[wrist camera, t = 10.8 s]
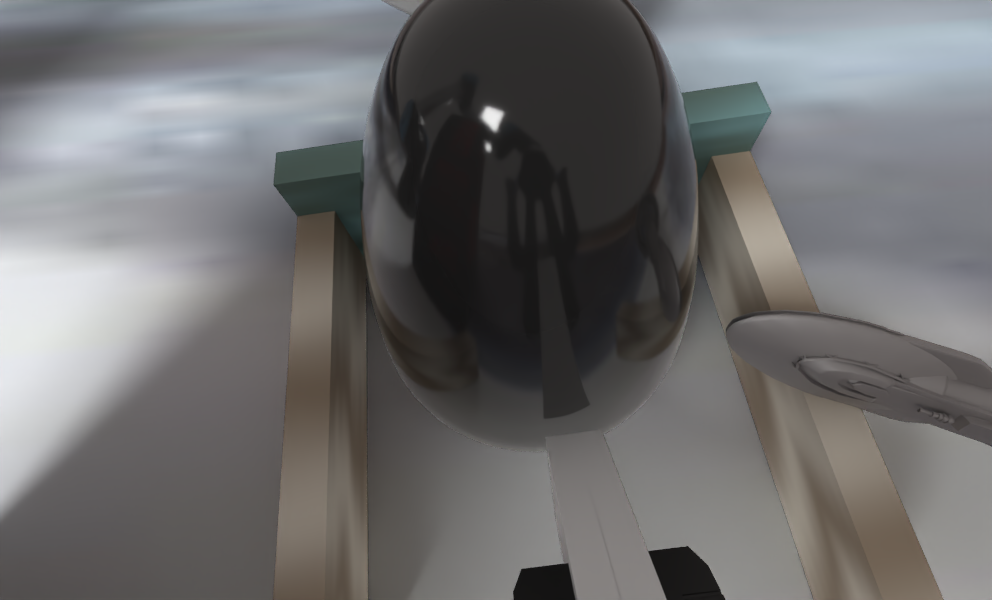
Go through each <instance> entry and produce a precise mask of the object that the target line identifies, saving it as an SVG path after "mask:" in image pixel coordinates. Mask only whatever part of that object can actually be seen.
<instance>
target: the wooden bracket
mask: <svg viewBox="0 0 992 600" xmlns="http://www.w3.org/2000/svg"><path fill="white" fill-rule="evenodd" d="M681 94H682V97H683V100H684V103H685V107H686V110H687V115H688V119H689V123H690V127H691V132H692V138H693V143H694V149H695V156H696V164H697V174H698V193H699V240H698V256H699V259H700V262H701V265H702V268H703V271H704V274H705V277H706V280H707V283H708V286H709V289H710V292H711V295H712V298H713V301H714V303H715V306H716V309H717V312H718V315H719V318H720V321H721V324H722V327H723V330H724V333H725V336H726V327H727V326H728V324H729V323H730V322H731V321H732V319H734V318H736V317H739V316H741V315H744V314H748V313H751V312H758V311H771V310H795V311H808V312H818V313H820V312H819V310H818V307H817V305H816V303H815V300H814V298H813V296H812V293H811V291H810V289H809V287H808V284H807V282H806V280H805V277H804V275H803V273H802V270H801V268H800V266H799V263H798V261H797V259H796V256H795V254H794V252H793V249H792V247H791V245H790V242H789V240H788V238H787V236H786V233H785V231H784V229H783V226H782V224H781V222H780V219H779V217H778V215H777V212H776V210H775V208H774V205H773V203H772V201H771V198H770V196H769V194H768V191H767V189H766V187H765V185H764V182H763V180H762V178H761V175H760V173H759V171H758V168H757V166H756V164H755V161H754V159H753V157H752V154H751V152H750V150H751V148H752V146H753V145H754V143H755V141H756V139H757V137H758V135H759V134H760V132H761V130H762V128H763V126H764V125H765V123H766V121H767V119H768V117H769V115H770V114H771V110H770V108H769V106H768V104H767V102H766V100H765V98H764V95H763V93H762V91H761V89H760V87H759V85H758V83H757V82H753V83H747V84H740V85H733V86H726V87H720V88H713V89H706V90H699V91H692V92H686V93H681ZM362 147H363V140H360V141H353V142H346V143H339V144H332V145H326V146H319V147H312V148H305V149H298V150H292V151H285V152H278V153H276V163H275V174H274V186H275V187H276V189H277V190H278V191H279V193H280V194H281V195H282V196H283V198H284V199H285V200H286V202H287V203H288V204H289V206H290V207H291V208H292V210H293V211H294V212H295V214H296V215H297V216H298V217H297V233H296V248H295V264H294V279H293V295H292V310H291V326H290V342H289V357H288V373H287V388H286V404H285V419H284V435H283V451H282V466H281V482H280V497H279V513H278V529H277V544H276V560H275V575H274V591H273V600H368V505H367V342H366V270H365V262H364V253H363V243H362V232H361V217H360V168H361V156H362ZM726 339H727V338H726ZM727 342H728V341H727ZM728 345H729V344H728ZM729 348H730V351H731V354H732V357H733V360H734V363H735V366H736V369H737V372H738V375H739V378H740V381H741V384H742V387H743V390H744V393H745V396H746V399H747V402H748V405H749V408H750V411H751V414H752V417H753V420H754V423H755V426H756V429H757V432H758V435H759V438H760V441H761V444H762V447H763V450H764V452H765V455H766V458H767V461H768V464H769V467H770V470H771V473H772V476H773V479H774V482H775V485H776V488H777V491H778V494H779V497H780V500H781V503H782V506H783V509H784V512H785V515H786V518H787V521H788V524H789V527H790V530H791V533H792V536H793V539H794V542H795V545H796V548H797V551H798V554H799V557H800V560H801V563H802V566H803V569H804V572H805V575H806V578H807V581H808V584H809V587H810V590H811V593H812V596H813V599H814V600H944V599H943V597H942V595H941V592H940V590H939V588H938V586H937V583H936V581H935V579H934V576H933V574H932V572H931V569H930V567H929V565H928V562H927V560H926V558H925V555H924V553H923V551H922V548H921V546H920V544H919V541H918V539H917V537H916V535H915V532H914V530H913V528H912V525H911V523H910V521H909V518H908V516H907V514H906V511H905V509H904V507H903V504H902V502H901V500H900V497H899V495H898V493H897V490H896V488H895V486H894V484H893V481H892V479H891V477H890V474H889V472H888V470H887V467H886V465H885V463H884V460H883V458H882V456H881V453H880V451H879V449H878V446H877V444H876V442H875V440H874V437H873V435H872V433H871V430H870V428H869V426H868V423H867V421H866V419H865V416H864V414H863V412H862V409H860V408H857V407H854V406H850V405H847V404H844V403H841V402H836V401H833V400H830V399H826V398H821V397H818V396H815V395H812V394H809V393H806V392H803V391H801V390H799V389H796V388H794V387H791V386H789V385H787V384H784V383H782V382H780V381H778V380H776V379H773V378H772V377H770V376H768V375H766V374H765V373H763V372H761V371H759V370H758V369H756V368H755V367H753V366H752V365H750V364H748V363H747V362H745V361H744V360H743V359H742V358H741V357H740V356H738V355H737V354H736V353H735V352H734V351H733V350H732V349H731V347H730V346H729Z"/></svg>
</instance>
